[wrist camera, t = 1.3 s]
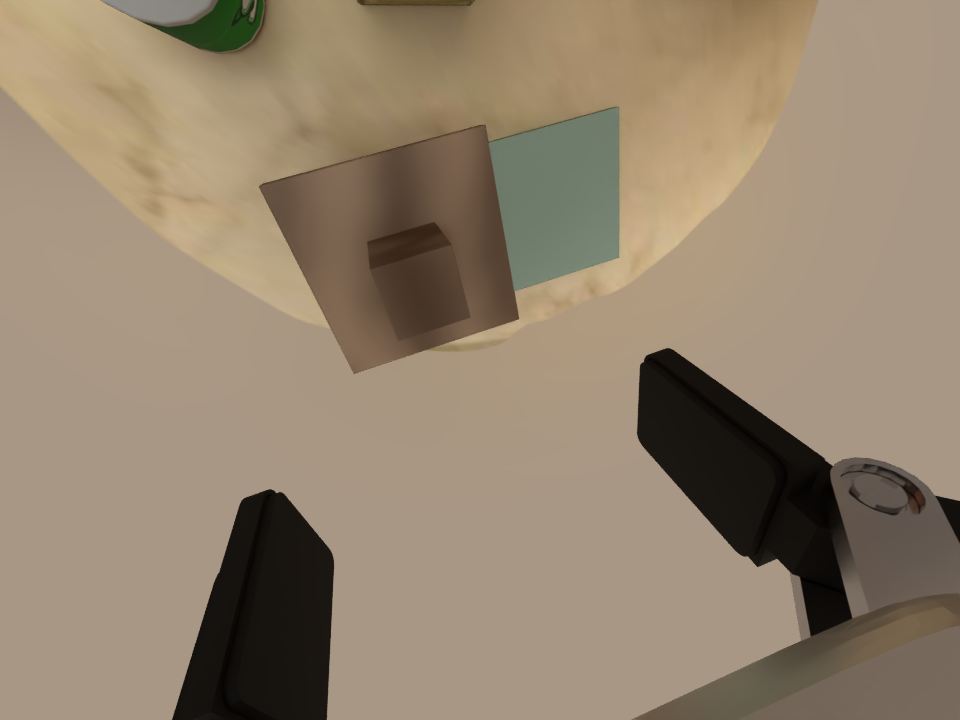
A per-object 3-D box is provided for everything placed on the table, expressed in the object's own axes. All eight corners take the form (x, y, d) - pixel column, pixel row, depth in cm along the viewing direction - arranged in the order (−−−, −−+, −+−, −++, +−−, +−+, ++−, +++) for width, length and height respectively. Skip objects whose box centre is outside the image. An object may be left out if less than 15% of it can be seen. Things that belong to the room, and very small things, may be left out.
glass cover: (480, 124, 21) (518, 126, 16) (514, 313, 28) (548, 354, 23) (262, 183, 20) (231, 204, 15) (353, 366, 27) (353, 421, 22)
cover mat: (615, 107, 37) (619, 106, 36) (616, 255, 45) (619, 257, 45) (468, 147, 35) (469, 148, 34) (497, 294, 43) (499, 296, 43)
